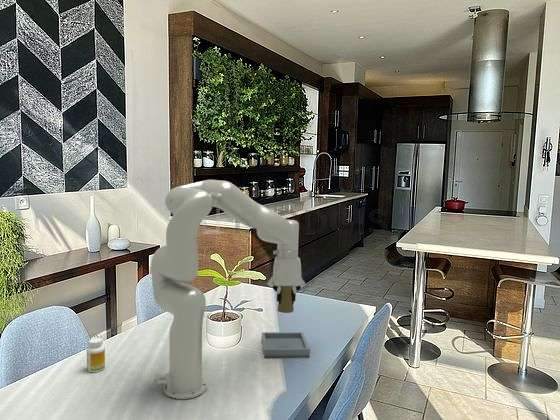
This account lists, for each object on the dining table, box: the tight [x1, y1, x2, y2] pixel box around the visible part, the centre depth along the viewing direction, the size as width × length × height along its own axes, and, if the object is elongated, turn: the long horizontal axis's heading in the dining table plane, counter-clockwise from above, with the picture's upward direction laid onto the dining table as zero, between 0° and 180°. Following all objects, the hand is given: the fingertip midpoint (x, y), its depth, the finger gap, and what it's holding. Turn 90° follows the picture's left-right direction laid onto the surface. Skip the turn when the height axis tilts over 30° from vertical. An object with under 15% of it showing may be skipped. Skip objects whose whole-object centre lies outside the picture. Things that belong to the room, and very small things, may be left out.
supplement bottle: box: [86, 337, 106, 373], centre depth 143 cm, size 5×5×10 cm
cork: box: [277, 286, 295, 314], centre depth 162 cm, size 6×6×11 cm
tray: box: [261, 331, 311, 359], centre depth 164 cm, size 16×16×3 cm
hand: (285, 302), depth 162 cm, fingers closed on cork, 4 cm apart
